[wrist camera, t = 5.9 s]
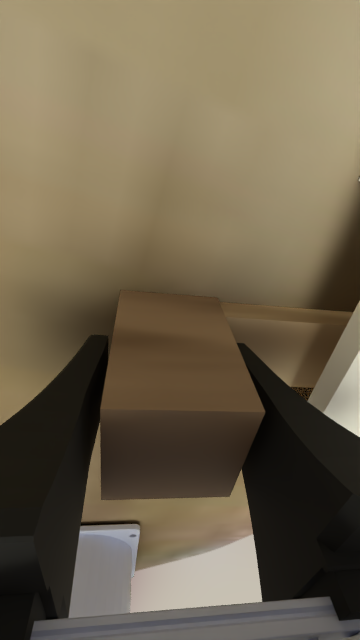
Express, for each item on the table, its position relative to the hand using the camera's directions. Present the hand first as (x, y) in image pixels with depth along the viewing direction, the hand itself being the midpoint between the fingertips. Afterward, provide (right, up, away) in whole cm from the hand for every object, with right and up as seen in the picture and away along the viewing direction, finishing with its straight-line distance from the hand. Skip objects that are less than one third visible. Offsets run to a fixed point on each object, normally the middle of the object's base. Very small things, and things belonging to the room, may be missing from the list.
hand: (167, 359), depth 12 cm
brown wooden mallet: (+6, +1, +2) cm, 6 cm away
